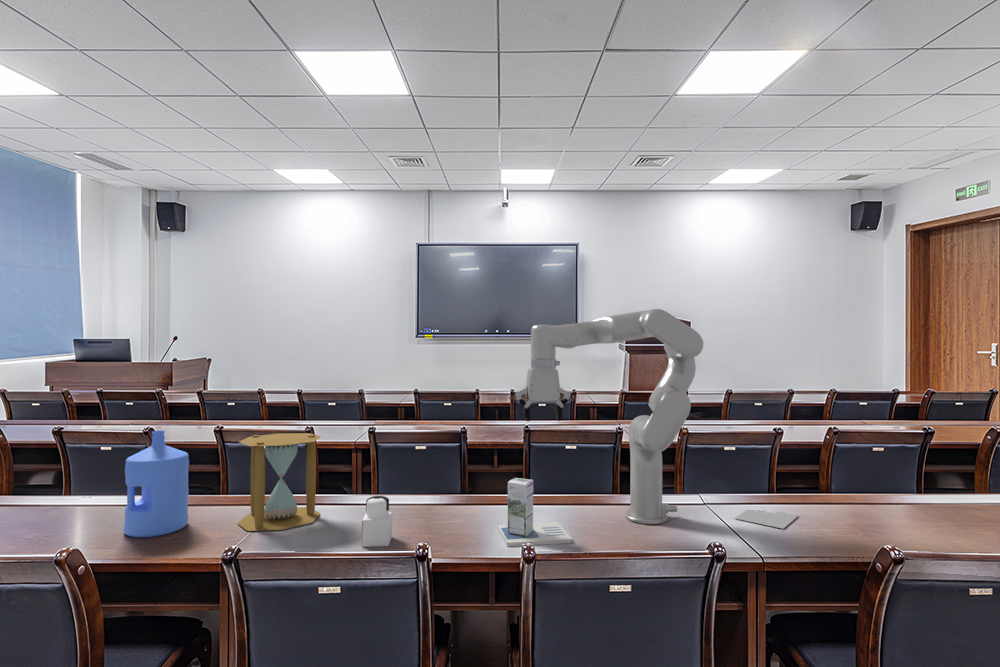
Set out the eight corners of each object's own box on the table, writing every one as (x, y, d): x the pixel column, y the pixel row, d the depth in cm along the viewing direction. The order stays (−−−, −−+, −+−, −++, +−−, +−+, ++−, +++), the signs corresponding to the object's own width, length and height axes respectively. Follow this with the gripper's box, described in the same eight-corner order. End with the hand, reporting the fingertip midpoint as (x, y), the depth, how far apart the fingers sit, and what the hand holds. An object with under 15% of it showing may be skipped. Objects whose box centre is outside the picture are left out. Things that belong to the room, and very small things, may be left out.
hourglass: (235, 537, 149) (236, 446, 150) (238, 513, 170) (239, 434, 170) (324, 525, 159) (325, 440, 160) (317, 504, 179) (317, 429, 180)
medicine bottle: (365, 537, 149) (366, 494, 150) (392, 537, 150) (392, 493, 150) (361, 547, 142) (361, 501, 142) (388, 546, 143) (389, 501, 143)
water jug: (179, 516, 167) (181, 425, 167) (194, 529, 156) (196, 431, 156) (118, 528, 156) (120, 431, 156) (130, 543, 145) (132, 438, 145)
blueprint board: (557, 525, 160) (557, 521, 160) (572, 542, 146) (572, 538, 146) (497, 528, 157) (497, 525, 157) (506, 546, 143) (506, 542, 143)
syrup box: (533, 530, 153) (534, 478, 153) (526, 537, 147) (526, 483, 148) (515, 527, 155) (515, 476, 155) (506, 534, 150) (507, 481, 150)
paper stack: (833, 524, 163) (833, 522, 163) (812, 547, 145) (812, 544, 145) (752, 508, 179) (752, 506, 179) (724, 527, 161) (724, 524, 161)
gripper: (566, 364, 172) (566, 418, 171) (513, 364, 169) (513, 419, 168) (573, 365, 164) (573, 421, 164) (518, 365, 161) (518, 422, 161)
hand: (542, 420), depth 166 cm, fingers open, 9 cm apart
